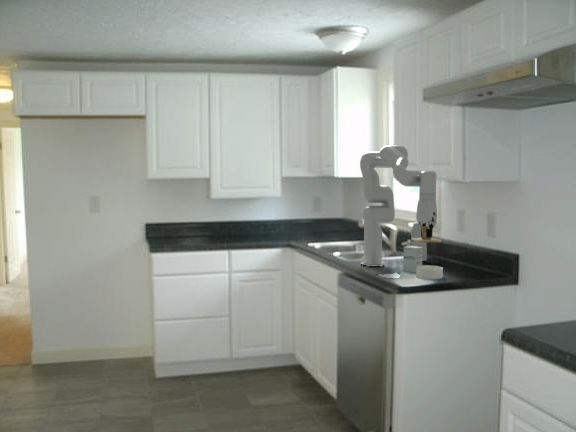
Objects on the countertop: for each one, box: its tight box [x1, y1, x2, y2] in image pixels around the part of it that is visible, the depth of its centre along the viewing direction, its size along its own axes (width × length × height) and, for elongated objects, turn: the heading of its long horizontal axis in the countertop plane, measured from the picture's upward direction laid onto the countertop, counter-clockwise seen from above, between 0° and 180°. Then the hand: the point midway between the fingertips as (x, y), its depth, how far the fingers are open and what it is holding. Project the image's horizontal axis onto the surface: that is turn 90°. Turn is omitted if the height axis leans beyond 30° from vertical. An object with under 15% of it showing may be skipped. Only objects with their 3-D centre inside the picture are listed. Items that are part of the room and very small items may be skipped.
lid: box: [411, 226, 442, 244], centre depth 281 cm, size 14×14×7 cm
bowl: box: [415, 264, 444, 280], centre depth 283 cm, size 12×12×5 cm
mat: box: [399, 272, 414, 279], centre depth 285 cm, size 14×14×1 cm
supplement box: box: [402, 245, 423, 273], centre depth 300 cm, size 7×7×13 cm
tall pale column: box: [410, 222, 428, 262], centre depth 335 cm, size 11×4×22 cm, turn 106°
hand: (426, 236), depth 281 cm, fingers closed on lid, 3 cm apart
